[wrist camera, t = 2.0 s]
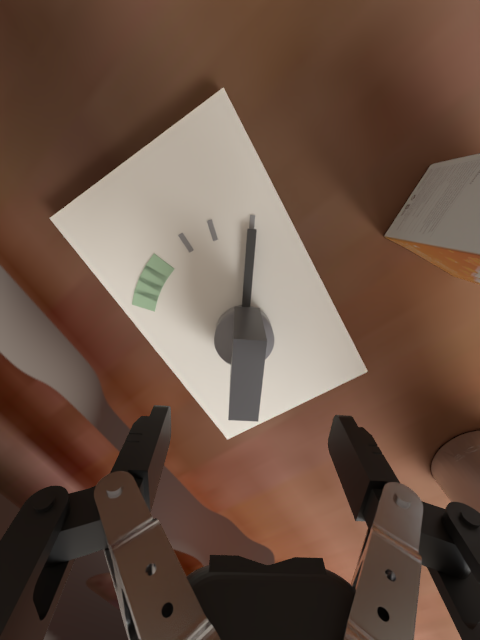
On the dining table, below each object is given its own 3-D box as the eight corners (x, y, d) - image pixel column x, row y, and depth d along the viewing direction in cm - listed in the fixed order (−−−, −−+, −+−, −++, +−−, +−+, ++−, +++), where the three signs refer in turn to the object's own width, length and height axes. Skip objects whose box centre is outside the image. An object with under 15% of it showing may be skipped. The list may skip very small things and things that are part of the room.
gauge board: (361, 363, 29) (368, 372, 27) (228, 429, 31) (227, 440, 30) (224, 95, 20) (223, 86, 19) (60, 217, 23) (48, 218, 22)
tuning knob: (268, 362, 26) (280, 422, 19) (214, 359, 26) (205, 419, 19) (283, 230, 22) (307, 241, 15) (219, 226, 22) (210, 234, 14)
